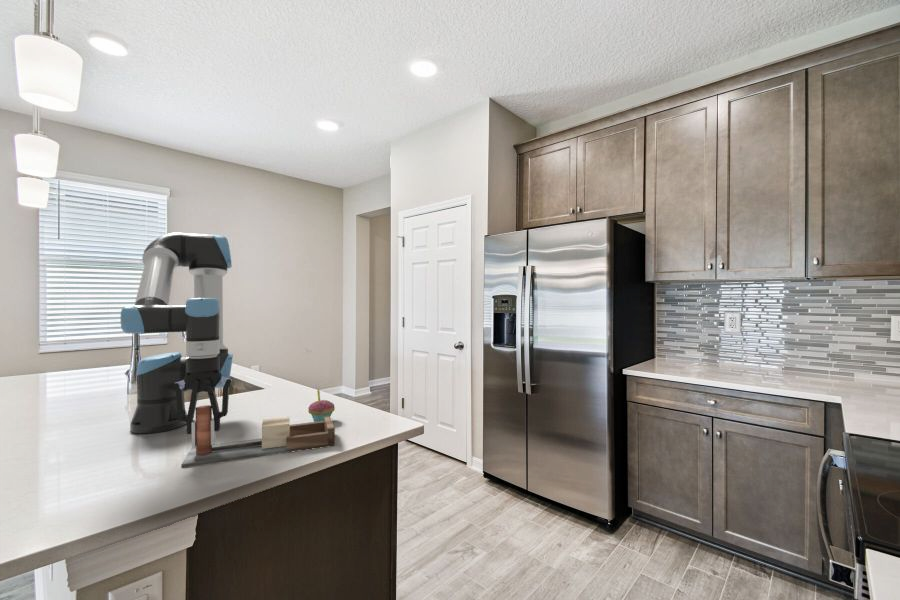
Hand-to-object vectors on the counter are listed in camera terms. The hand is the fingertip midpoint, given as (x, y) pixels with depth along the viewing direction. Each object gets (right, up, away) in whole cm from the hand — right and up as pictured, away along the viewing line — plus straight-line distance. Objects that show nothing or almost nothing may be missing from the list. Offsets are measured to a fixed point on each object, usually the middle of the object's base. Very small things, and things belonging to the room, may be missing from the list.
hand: (203, 444), depth 105 cm
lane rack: (+13, -3, +6) cm, 15 cm away
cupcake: (+22, -3, +29) cm, 36 cm away
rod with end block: (+9, -2, +4) cm, 10 cm away
